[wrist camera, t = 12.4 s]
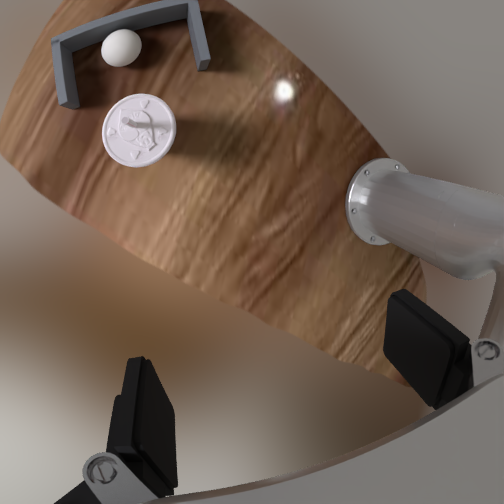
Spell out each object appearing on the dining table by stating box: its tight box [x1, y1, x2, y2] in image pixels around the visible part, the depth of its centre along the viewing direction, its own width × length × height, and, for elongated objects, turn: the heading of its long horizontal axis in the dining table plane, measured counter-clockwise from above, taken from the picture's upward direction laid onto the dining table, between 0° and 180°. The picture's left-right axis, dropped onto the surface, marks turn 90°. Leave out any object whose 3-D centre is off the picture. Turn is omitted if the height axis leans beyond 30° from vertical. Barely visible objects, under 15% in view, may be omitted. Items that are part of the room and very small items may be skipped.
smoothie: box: [102, 94, 176, 167], centre depth 25 cm, size 6×6×14 cm
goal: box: [51, 0, 211, 110], centre depth 25 cm, size 16×8×4 cm, turn 102°
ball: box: [101, 29, 142, 67], centre depth 25 cm, size 4×4×4 cm
